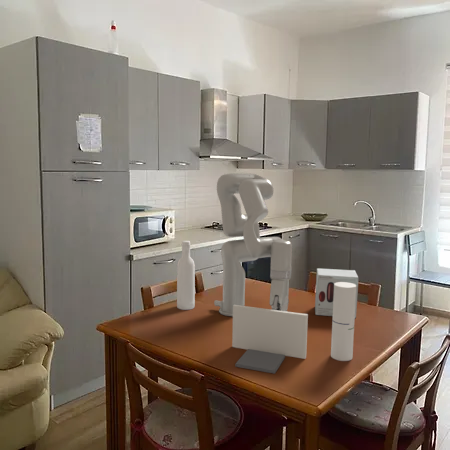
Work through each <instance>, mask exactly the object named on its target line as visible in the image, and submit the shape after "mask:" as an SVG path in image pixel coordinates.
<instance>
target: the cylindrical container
mask: <svg viewBox="0 0 450 450" xmlns="http://www.w3.org/2000/svg"><path fill="white" fill-rule="evenodd" d="M355 301H356V285H355V284H353V283H348V282H337V283H334V297H333V316H332V320H331V321H332V322H331V324H332V325H331V345H330V348H331V349H330V357H331V358H332V359H334V360H336V361H340V362H349V361H351V360H352V359H353V357H354V356H353V355H354V354H353V353H354V336H355V335H354V334H355V319H356V318H355Z"/></svg>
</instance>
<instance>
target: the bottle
mask: <svg viewBox="0 0 450 450" xmlns="http://www.w3.org/2000/svg"><path fill="white" fill-rule="evenodd" d="M191 246H192V245H191V241H190V240H182V241H181V257H180V258H179V259H178V261H177V265H176V278H177V279H176V282H177V283H176V307H177V309H179V310H182V311H190V310H193V309H194V308H195V304H196V301H195V299H196V298H195V297H196V296H195V288H196V287H195V286H196V284H195V283H196V282H195V281H196V280H195V277H196V275H195V273H196V271H195V270H196V269H195V268H196V265H195V264H196V263H195V261H194V259H193V258H192V257H191Z"/></svg>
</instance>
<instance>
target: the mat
mask: <svg viewBox="0 0 450 450" xmlns="http://www.w3.org/2000/svg"><path fill="white" fill-rule="evenodd" d="M285 359H286V356H285V355H283V354H276V353H270V352H264V351H258V350H252V349H246V351H245V352H244V353H243V354H242V355H241V357H239V359H238V360H237V361H236V363H235V364H234V365H235V368H241V369H247V370H253V371H259V372H264V373H270V374H276V372H277V371H278V370H279V368H280V366H281V365H282V363H283V362H284V360H285Z"/></svg>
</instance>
